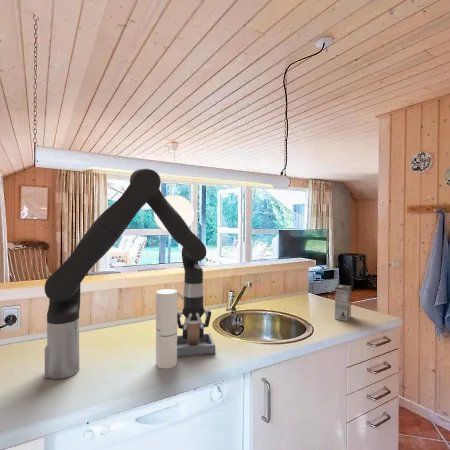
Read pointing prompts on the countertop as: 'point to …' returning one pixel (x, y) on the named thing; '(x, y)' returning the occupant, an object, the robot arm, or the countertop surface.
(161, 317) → the cylindrical container
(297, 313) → the countertop surface
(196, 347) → the tray
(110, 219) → the robot arm
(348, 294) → the coffee box
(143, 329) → the countertop surface
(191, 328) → the shaker
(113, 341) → the countertop surface
